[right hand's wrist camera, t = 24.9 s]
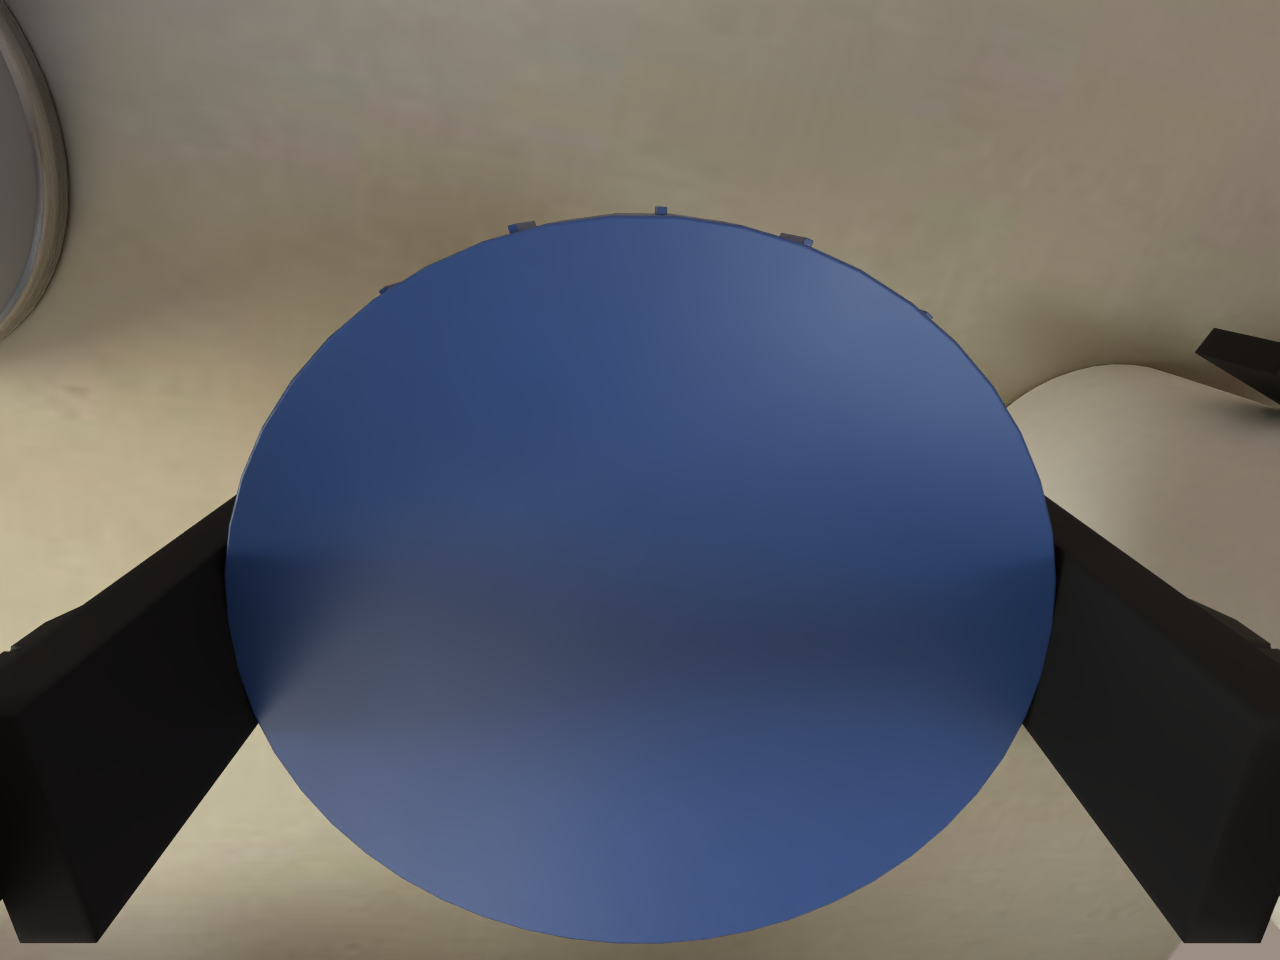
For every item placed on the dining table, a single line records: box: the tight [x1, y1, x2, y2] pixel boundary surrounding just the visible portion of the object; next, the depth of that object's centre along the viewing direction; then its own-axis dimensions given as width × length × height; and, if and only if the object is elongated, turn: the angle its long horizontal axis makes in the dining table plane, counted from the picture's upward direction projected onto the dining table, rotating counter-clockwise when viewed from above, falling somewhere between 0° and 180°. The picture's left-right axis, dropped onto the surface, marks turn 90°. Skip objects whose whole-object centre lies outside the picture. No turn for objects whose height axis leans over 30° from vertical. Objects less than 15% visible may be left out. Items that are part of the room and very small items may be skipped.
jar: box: [1007, 364, 1280, 929], centre depth 19 cm, size 10×10×17 cm
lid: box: [225, 206, 1056, 943], centre depth 11 cm, size 11×11×2 cm
